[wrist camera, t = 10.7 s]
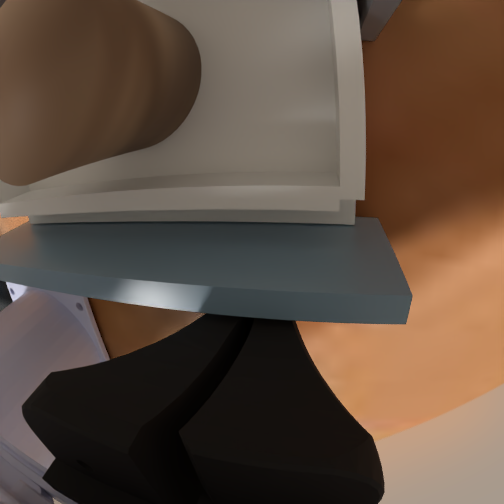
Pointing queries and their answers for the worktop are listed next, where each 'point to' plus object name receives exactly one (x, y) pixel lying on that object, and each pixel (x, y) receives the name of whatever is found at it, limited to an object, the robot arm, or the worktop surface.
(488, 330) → the worktop surface
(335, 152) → the tray
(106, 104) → the beige cylinder
